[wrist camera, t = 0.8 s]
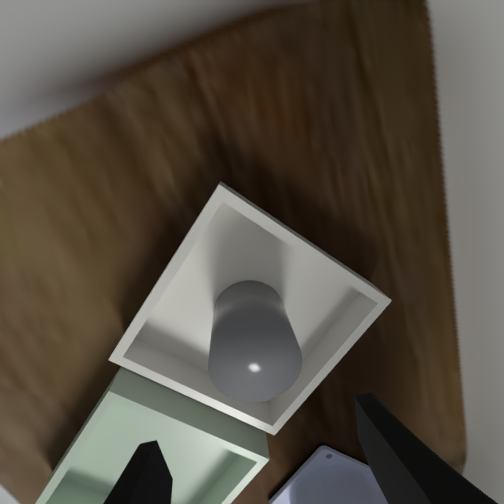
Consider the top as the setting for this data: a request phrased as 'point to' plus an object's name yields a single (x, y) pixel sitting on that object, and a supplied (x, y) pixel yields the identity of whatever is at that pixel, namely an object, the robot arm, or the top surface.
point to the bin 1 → (235, 270)
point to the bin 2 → (170, 442)
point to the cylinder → (252, 344)
